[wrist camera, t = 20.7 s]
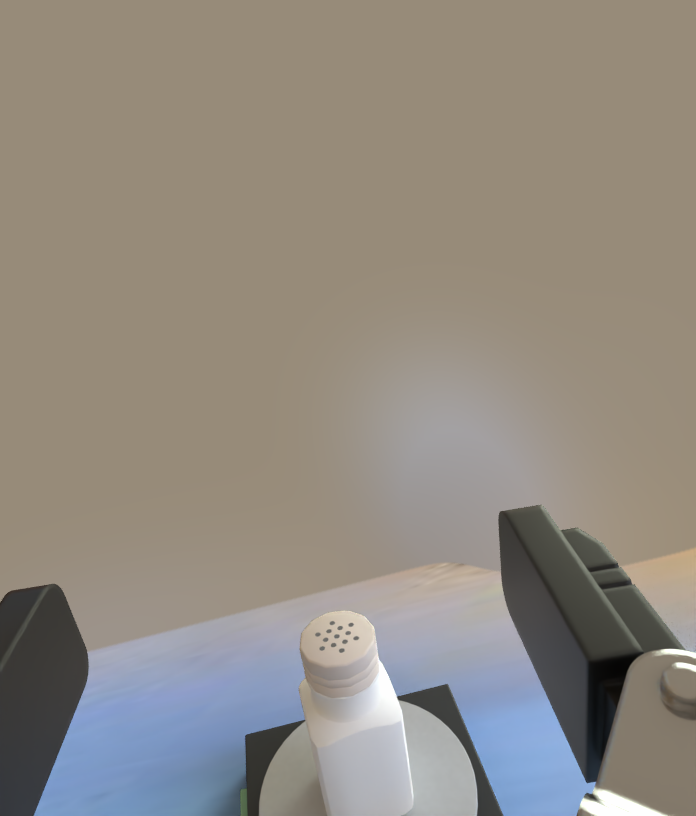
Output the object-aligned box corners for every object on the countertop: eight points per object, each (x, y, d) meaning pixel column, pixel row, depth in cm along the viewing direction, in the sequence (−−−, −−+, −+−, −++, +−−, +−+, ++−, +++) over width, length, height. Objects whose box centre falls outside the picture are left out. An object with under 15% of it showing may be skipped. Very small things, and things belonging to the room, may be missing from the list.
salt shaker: (315, 767, 31) (282, 618, 27) (391, 741, 31) (369, 593, 28) (334, 846, 27) (298, 686, 23) (419, 815, 28) (397, 656, 24)
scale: (450, 713, 37) (445, 664, 36) (544, 944, 26) (542, 886, 25) (246, 766, 36) (232, 717, 34) (254, 1033, 25) (233, 978, 23)
